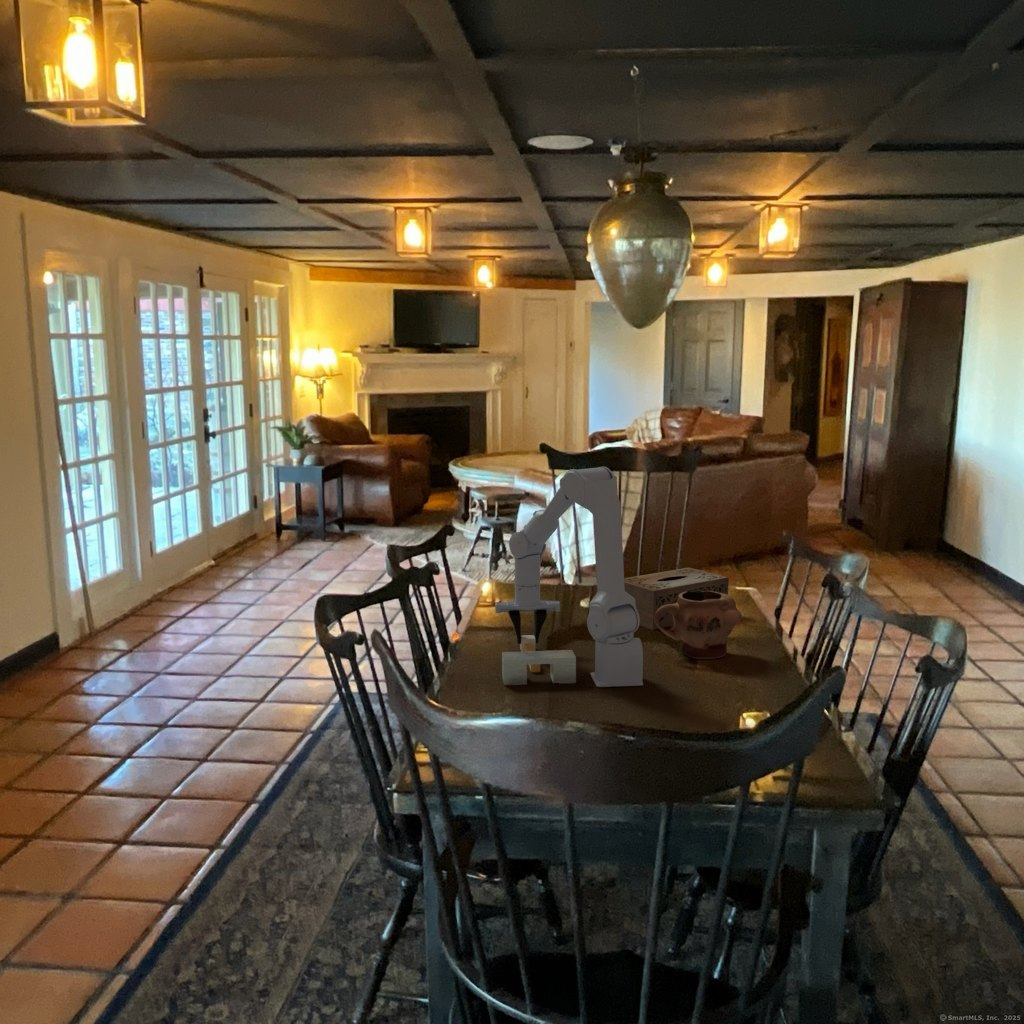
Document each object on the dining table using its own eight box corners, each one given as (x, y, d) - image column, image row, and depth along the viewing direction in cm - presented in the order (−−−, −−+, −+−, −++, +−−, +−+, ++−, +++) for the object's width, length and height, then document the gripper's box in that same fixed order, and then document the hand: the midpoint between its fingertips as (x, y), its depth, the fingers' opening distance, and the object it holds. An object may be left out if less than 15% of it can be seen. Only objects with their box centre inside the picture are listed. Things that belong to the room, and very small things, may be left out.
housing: (571, 674, 192) (572, 649, 191) (575, 682, 187) (575, 657, 186) (502, 677, 191) (502, 652, 190) (504, 685, 186) (504, 659, 185)
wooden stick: (543, 671, 194) (543, 658, 194) (528, 672, 194) (528, 658, 193) (534, 647, 211) (534, 635, 210) (520, 648, 210) (520, 635, 210)
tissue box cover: (652, 630, 225) (653, 590, 223) (614, 617, 237) (615, 579, 235) (727, 615, 239) (728, 577, 237) (687, 603, 251) (688, 567, 249)
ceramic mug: (667, 667, 197) (668, 604, 195) (644, 650, 208) (645, 590, 206) (751, 659, 202) (753, 597, 200) (723, 643, 214) (725, 584, 211)
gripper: (556, 579, 212) (556, 636, 214) (494, 580, 211) (494, 638, 213) (561, 586, 205) (561, 645, 207) (496, 588, 204) (496, 647, 206)
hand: (527, 642), depth 209 cm, fingers closed on wooden stick, 3 cm apart
